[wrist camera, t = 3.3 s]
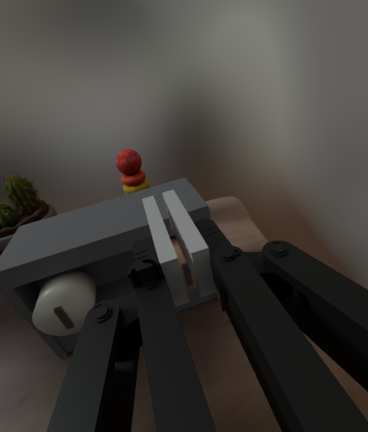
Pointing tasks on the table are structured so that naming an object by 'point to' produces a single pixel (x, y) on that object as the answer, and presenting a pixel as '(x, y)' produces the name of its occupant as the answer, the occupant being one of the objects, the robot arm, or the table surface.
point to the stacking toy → (131, 171)
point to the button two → (183, 266)
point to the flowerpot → (20, 209)
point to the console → (89, 251)
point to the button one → (64, 303)
